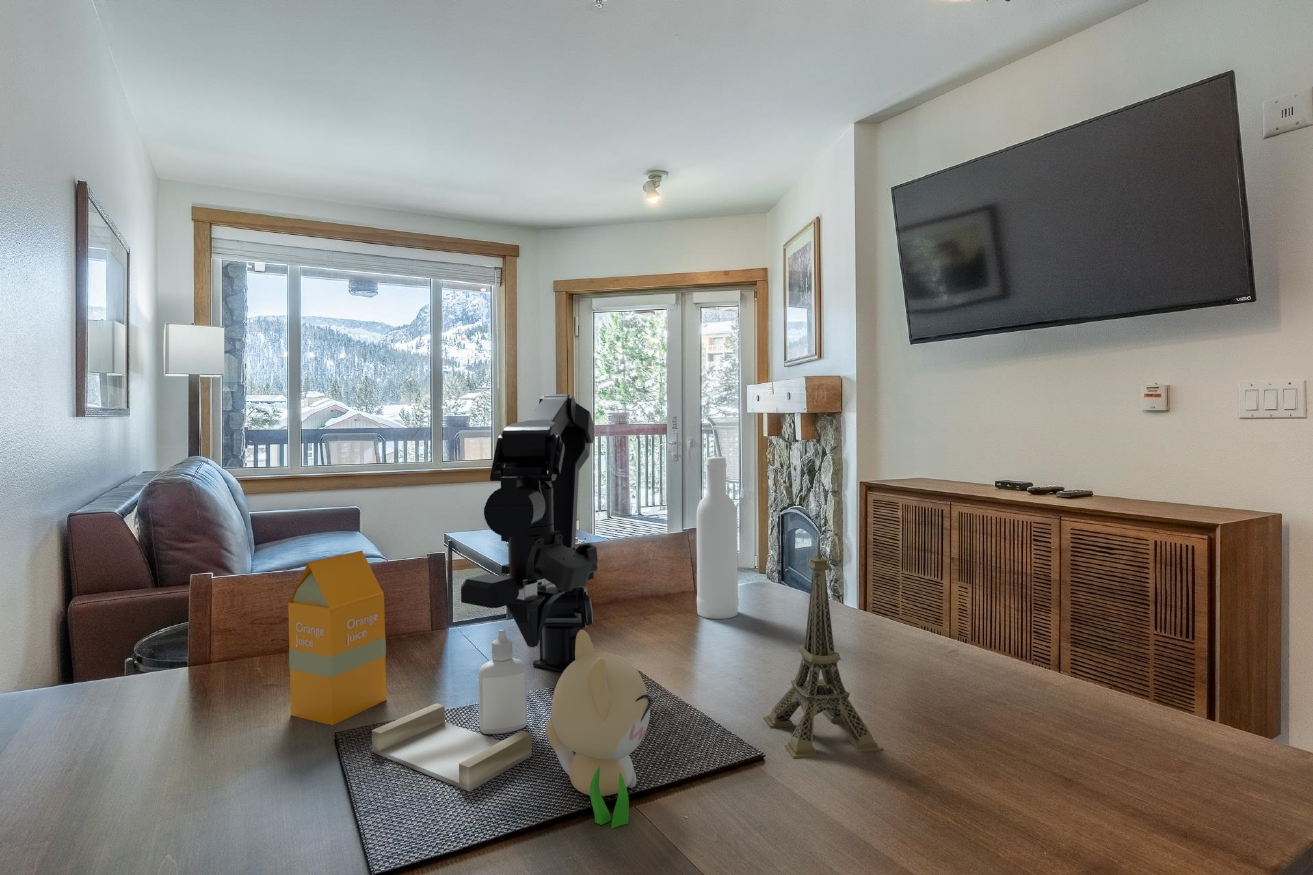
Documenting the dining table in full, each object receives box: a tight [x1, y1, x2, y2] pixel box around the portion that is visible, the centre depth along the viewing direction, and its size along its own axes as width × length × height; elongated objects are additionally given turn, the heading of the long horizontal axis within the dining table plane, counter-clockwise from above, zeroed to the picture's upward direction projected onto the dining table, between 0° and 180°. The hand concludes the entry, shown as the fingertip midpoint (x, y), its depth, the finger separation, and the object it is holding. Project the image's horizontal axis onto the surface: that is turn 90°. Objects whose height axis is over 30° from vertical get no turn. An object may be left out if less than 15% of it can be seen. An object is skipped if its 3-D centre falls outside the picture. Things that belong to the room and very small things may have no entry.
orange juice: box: [287, 549, 387, 726], centre depth 93 cm, size 8×9×20 cm
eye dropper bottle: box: [478, 628, 528, 735], centre depth 86 cm, size 4×6×12 cm
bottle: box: [696, 456, 739, 620], centre depth 135 cm, size 8×8×30 cm
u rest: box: [371, 703, 533, 792], centre depth 80 cm, size 16×9×2 cm, turn 56°
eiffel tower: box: [762, 523, 884, 759], centre depth 84 cm, size 11×11×25 cm
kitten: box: [545, 629, 653, 829], centre depth 71 cm, size 15×10×15 cm, turn 17°
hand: (532, 646), depth 90 cm, fingers closed
